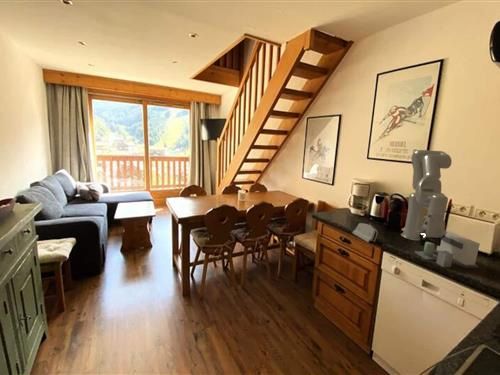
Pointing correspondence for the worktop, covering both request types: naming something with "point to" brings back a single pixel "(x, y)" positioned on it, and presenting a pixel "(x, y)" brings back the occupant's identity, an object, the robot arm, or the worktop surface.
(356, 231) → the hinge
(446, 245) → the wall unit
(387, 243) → the worktop surface
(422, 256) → the slate mat
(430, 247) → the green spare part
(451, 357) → the worktop surface
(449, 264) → the metal block
